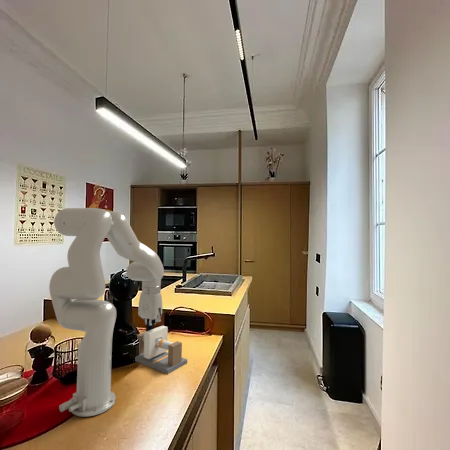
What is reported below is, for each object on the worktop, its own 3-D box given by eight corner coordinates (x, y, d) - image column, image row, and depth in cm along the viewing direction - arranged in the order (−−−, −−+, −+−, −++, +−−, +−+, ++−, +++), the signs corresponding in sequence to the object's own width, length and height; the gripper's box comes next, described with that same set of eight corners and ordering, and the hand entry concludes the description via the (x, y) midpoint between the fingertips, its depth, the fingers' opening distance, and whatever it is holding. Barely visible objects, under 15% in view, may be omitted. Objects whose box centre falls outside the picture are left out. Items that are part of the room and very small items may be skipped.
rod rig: (167, 374, 108) (168, 349, 108) (129, 358, 120) (129, 336, 120) (187, 363, 117) (187, 340, 117) (149, 349, 129) (149, 329, 129)
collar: (149, 359, 114) (149, 333, 115) (143, 357, 116) (144, 332, 116) (167, 350, 123) (167, 326, 123) (161, 349, 124) (162, 325, 125)
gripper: (132, 289, 123) (130, 332, 122) (157, 293, 115) (156, 340, 114) (145, 286, 129) (144, 328, 129) (170, 290, 121) (169, 335, 121)
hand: (150, 333), depth 121 cm, fingers closed
